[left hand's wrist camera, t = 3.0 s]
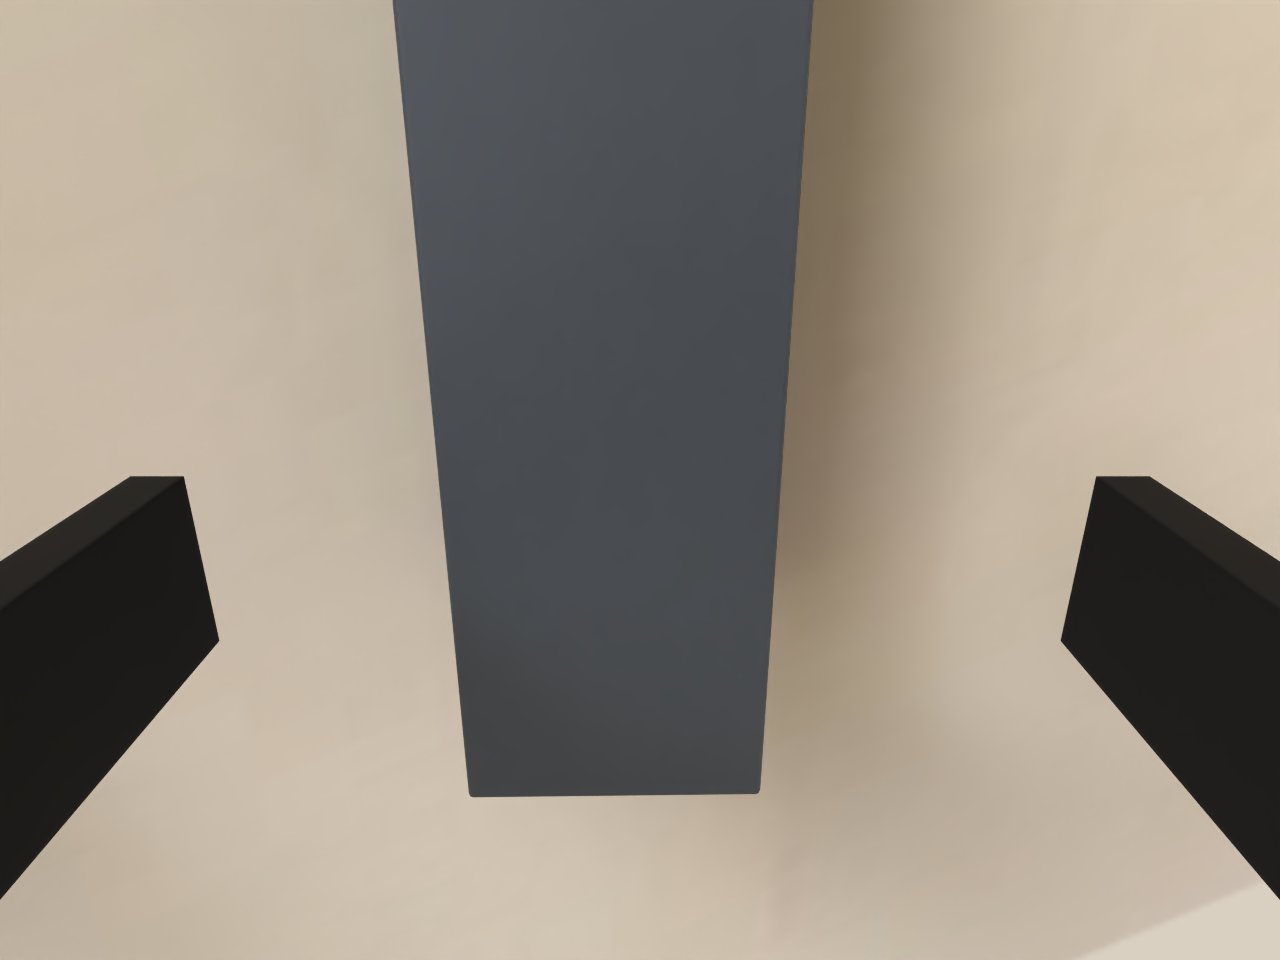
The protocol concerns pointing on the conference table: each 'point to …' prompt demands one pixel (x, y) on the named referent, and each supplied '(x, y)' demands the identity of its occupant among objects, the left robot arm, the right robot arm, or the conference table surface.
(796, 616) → the conference table surface
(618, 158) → the post
